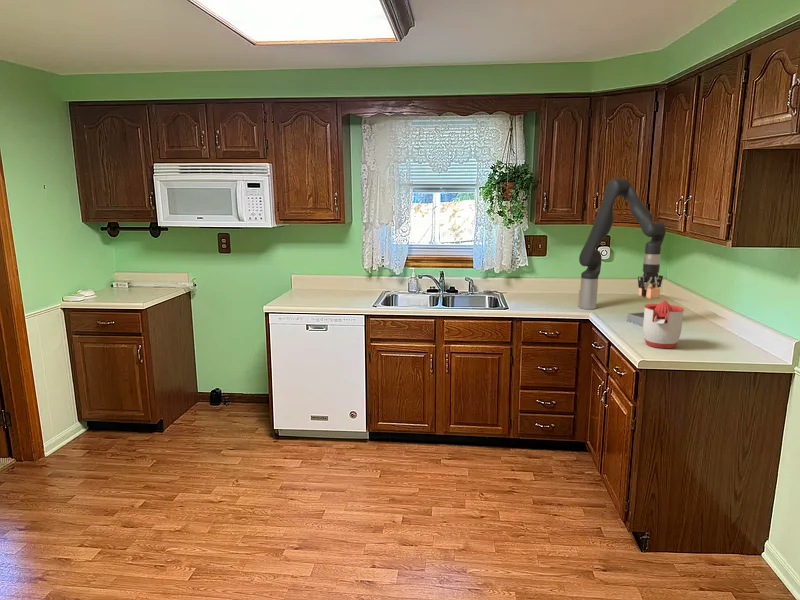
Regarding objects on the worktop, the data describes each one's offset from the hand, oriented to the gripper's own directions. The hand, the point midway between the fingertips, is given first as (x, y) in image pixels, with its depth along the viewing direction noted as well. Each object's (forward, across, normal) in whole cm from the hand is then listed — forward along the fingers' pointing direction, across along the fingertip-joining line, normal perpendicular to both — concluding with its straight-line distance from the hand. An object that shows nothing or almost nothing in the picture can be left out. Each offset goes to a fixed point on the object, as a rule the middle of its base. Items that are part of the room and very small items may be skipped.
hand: (648, 296), depth 282 cm
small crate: (0, 0, 0) cm, 0 cm away
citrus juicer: (+14, +26, +36) cm, 47 cm away
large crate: (+14, 0, 0) cm, 14 cm away
